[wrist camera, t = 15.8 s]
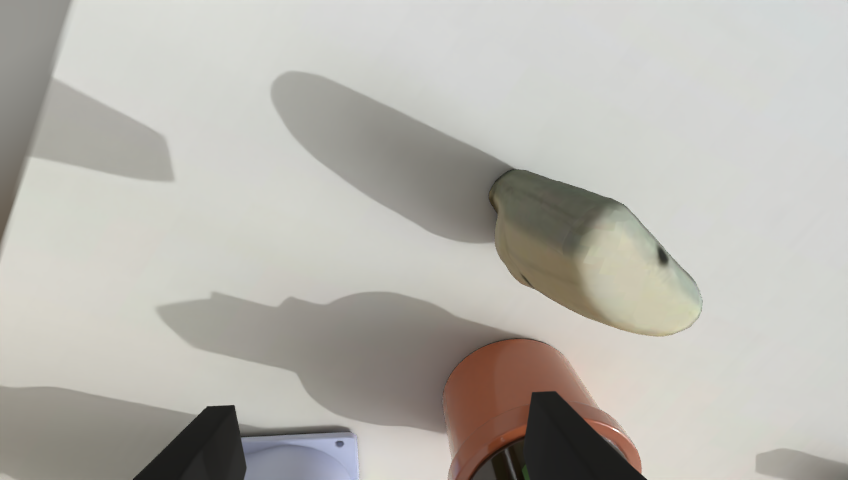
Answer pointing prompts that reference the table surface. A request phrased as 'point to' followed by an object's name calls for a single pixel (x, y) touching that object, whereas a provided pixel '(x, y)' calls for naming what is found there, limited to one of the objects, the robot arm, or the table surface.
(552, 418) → the robot arm
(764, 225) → the table surface
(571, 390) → the plant
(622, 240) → the pale green rounded block
